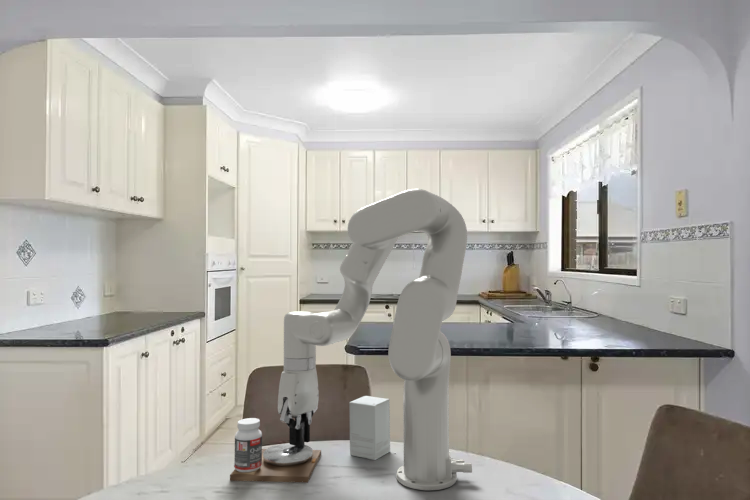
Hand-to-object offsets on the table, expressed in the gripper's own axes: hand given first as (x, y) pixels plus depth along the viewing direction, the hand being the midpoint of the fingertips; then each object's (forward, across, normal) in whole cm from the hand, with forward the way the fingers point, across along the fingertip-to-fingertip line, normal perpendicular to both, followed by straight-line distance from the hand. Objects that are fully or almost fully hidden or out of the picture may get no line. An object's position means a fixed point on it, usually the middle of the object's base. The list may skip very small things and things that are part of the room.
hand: (299, 442), depth 118 cm
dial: (+2, +5, 0) cm, 5 cm away
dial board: (+3, +7, 0) cm, 8 cm away
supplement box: (+4, -11, +13) cm, 17 cm away
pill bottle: (+2, +14, -3) cm, 14 cm away
